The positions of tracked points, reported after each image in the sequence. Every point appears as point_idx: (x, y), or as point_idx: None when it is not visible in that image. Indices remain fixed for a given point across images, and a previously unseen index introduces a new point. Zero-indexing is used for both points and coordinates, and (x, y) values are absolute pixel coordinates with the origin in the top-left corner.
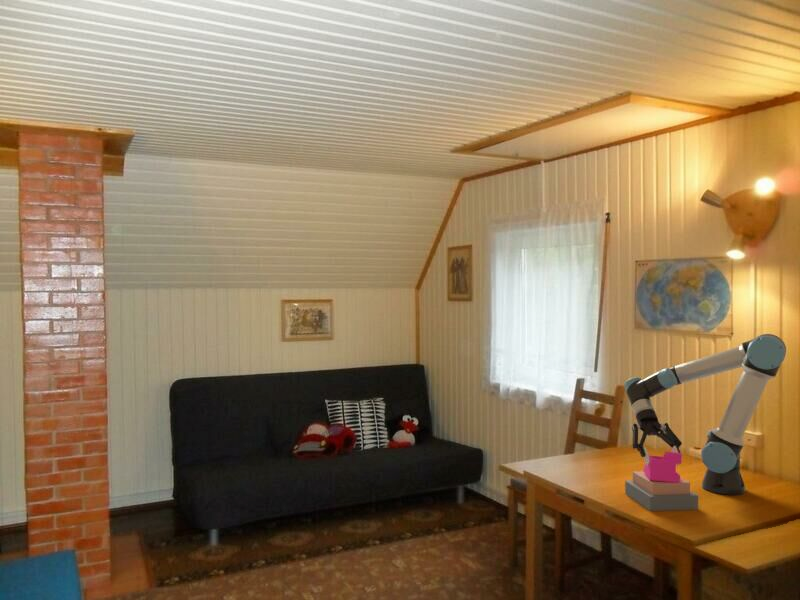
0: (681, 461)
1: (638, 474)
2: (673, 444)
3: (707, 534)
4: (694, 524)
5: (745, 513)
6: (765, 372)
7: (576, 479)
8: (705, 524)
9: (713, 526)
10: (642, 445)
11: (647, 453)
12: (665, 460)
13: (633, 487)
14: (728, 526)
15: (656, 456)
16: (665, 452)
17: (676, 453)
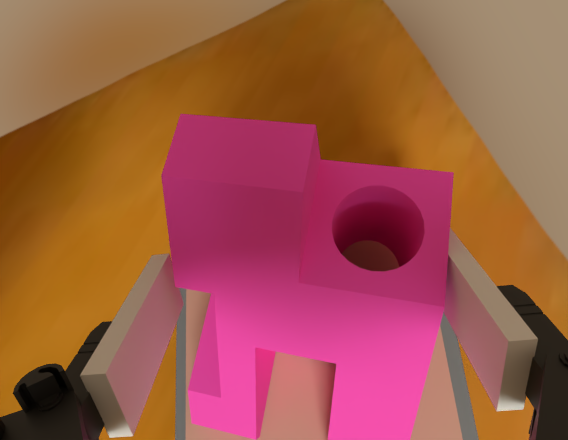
0: (157, 255)
1: (448, 412)
2: (81, 416)
3: (294, 5)
4: (294, 78)
5: (48, 189)
6: None
7: None
8: (256, 80)
9: (239, 65)
10: (557, 356)
11: (470, 277)
12: (327, 161)
13: (463, 379)
14: (191, 68)
15: (368, 273)
16: (306, 180)
17: (215, 138)
